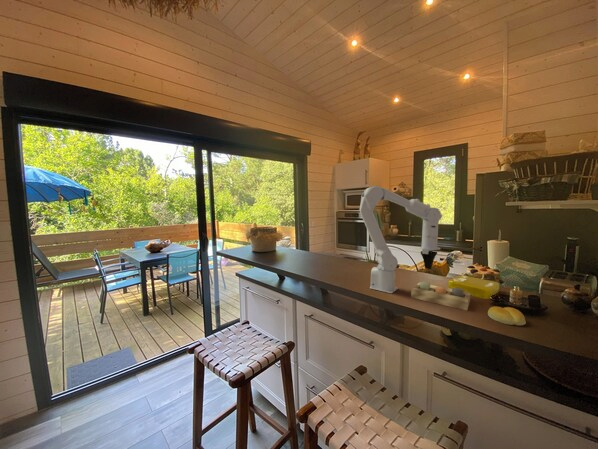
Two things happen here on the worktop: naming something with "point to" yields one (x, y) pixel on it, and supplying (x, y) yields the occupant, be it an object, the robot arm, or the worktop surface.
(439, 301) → the button panel
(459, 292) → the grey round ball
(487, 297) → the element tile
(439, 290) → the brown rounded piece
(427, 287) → the sage button
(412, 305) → the worktop surface
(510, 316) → the bread roll
